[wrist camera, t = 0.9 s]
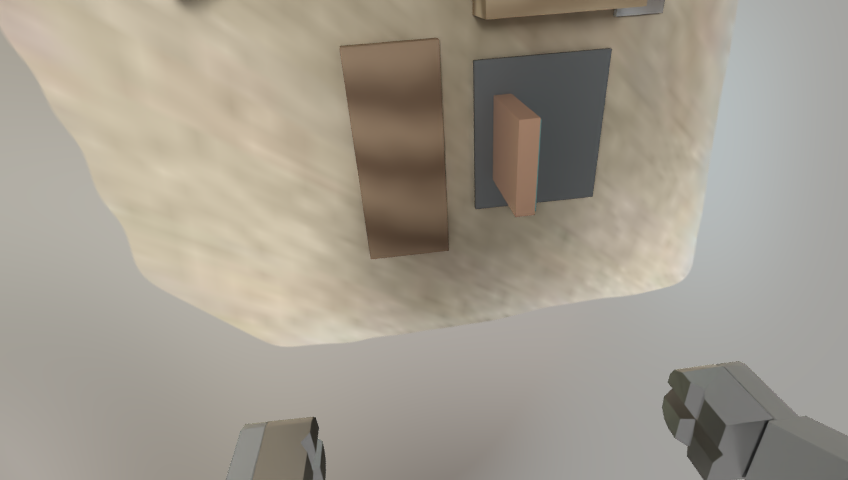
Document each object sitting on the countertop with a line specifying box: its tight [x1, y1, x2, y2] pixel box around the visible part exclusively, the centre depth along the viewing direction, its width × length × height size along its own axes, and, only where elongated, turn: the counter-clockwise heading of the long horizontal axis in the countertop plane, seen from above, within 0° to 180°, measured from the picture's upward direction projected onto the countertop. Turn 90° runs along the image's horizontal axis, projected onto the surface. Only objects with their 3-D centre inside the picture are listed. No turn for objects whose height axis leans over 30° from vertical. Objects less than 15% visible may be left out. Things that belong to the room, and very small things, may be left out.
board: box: [340, 38, 449, 259], centre depth 42 cm, size 20×8×1 cm, turn 4°
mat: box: [473, 48, 612, 209], centre depth 43 cm, size 14×12×1 cm
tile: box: [493, 94, 542, 217], centre depth 39 cm, size 8×2×8 cm, turn 4°
